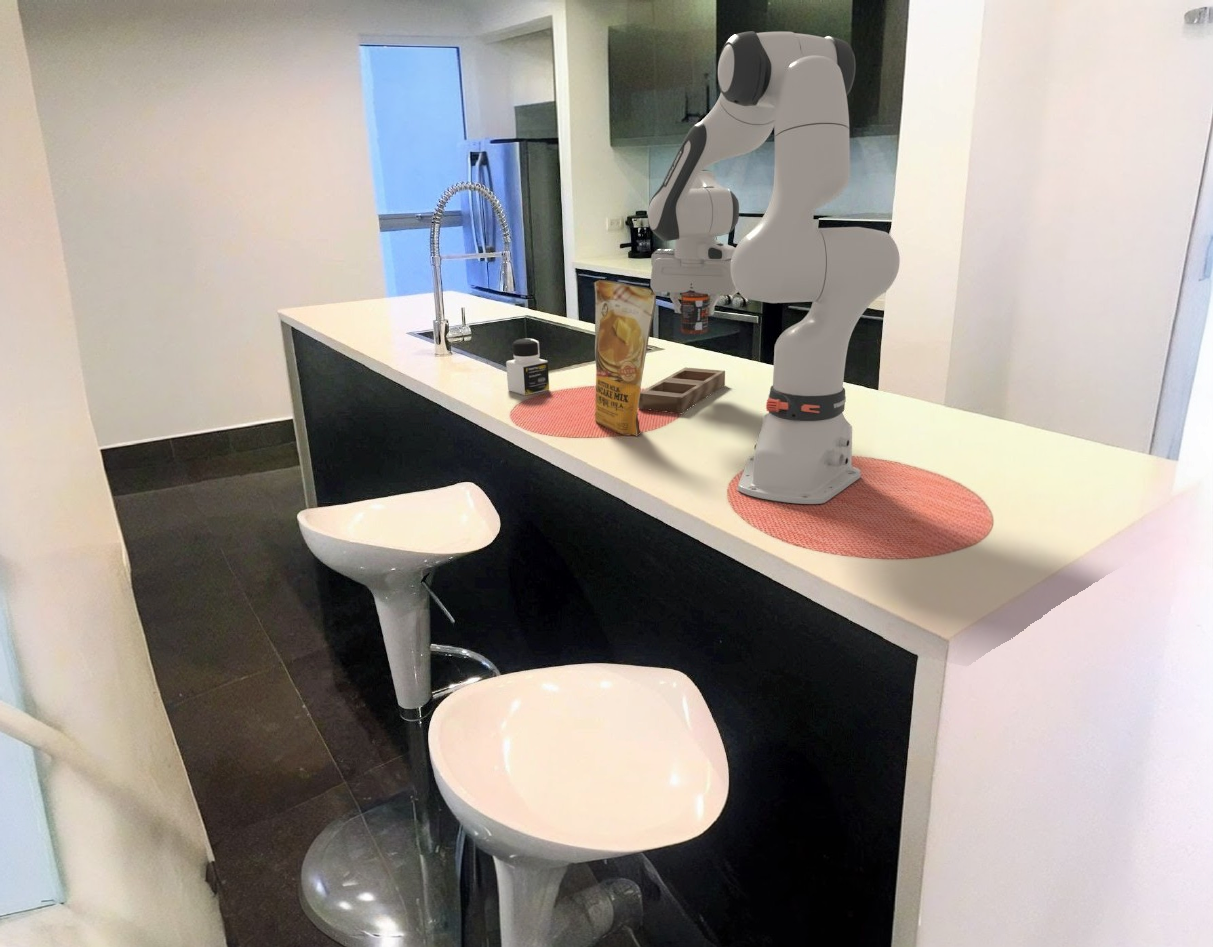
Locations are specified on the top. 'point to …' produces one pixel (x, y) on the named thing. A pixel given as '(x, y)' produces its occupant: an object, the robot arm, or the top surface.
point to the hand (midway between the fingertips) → (694, 313)
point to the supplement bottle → (694, 313)
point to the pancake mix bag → (620, 352)
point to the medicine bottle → (527, 368)
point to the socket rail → (681, 390)
